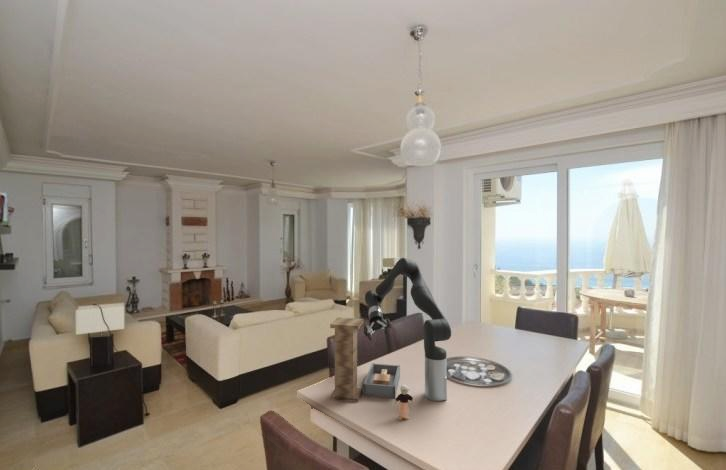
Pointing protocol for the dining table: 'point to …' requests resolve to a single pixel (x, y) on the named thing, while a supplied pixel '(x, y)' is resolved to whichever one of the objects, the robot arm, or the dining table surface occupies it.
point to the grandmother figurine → (403, 402)
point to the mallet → (382, 378)
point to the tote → (379, 389)
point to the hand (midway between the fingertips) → (378, 336)
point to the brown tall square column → (346, 359)
